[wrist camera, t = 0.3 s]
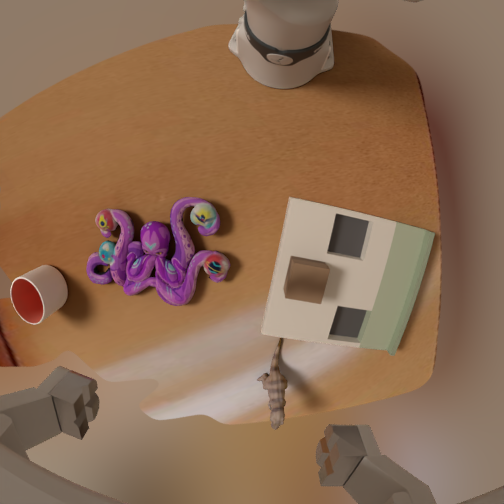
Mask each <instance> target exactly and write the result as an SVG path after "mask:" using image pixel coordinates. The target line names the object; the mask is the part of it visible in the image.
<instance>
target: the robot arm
mask: <svg viewBox="0 0 504 504" xmlns="http://www.w3.org/2000/svg"><path fill="white" fill-rule="evenodd" d="M404 1H409V2H419V1H422V0H404ZM244 2H245V4H244V7H243V11H244V12H245V14H244V15H243V17H240V19H239V22H238V23H239V25H238V27H237V28H236V30H235V32H234V34H233V36H232V38H231V40H230V42H229V50H230V51H231V52H232V53H233V54H234V55H236V56H237V57H238V58H239V59H240V60H241V62H242V64H243V66H244V68H245V70H246V71H247V72H248V74H249V75H250V76H251V77H252V78H254V79H255V80H256V81H258V82H260V83H261V84H264V85H266V86H269V87H273V88H279V89H289V88H295V87H298V86H301V85H303V84H305V83H307V82H309V81H310V80H311V79H312V78H313V77H315V76H316V75H317V74H319V73H321V72H325V71H328V70H330V69H332V68H333V66H334V54H333V42H332V32H331V23H330V22H331V20H332V18H333V16H334V14H335V12H336V10H337V7H338V0H244ZM328 57H329V59H328ZM97 388H98V387H97V382H96V380H94V379H92V378H89V377H87V376H84V375H82V374H79V373H77V372H74V371H72V370H69V369H67V368H64V367H62V366H59V367H57V368H56V369H55V370H54V371H53V372H52V373H51V374H50V375H49V376H48V377H47V378H46V379H45V380H44V381H43V382H42V383H41V384H40V386H39V387H38V388H37V389H36V388H34V387H33V388H29V389H26V390H22V391H18V392H14V393H10V394H6V395H2V396H0V504H129V503H126V502H123V501H120V500H117V499H114V498H111V497H108V496H105V495H103V494H100V493H98V492H95V491H92V490H90V489H87V488H85V487H83V486H81V485H78V484H76V483H74V482H71V481H69V480H67V479H65V478H63V477H61V476H58V475H57V474H55V473H52V472H50V471H49V470H47V469H45V468H43V467H41V466H39V465H37V464H35V463H34V462H32V461H30V460H29V458H28V455H27V454H26V452H25V451H26V450H28V449H30V448H32V447H34V446H36V445H38V444H40V443H42V442H44V441H46V440H48V439H50V438H52V437H54V436H56V435H58V434H60V433H61V432H63V433H66V434H68V435H71V436H73V437H76V438H78V439H81V440H82V439H83V437H84V435H85V434H86V432H87V430H88V429H89V426H88V422H91V421H93V420H94V419H95V417H96V416H97V412H98V409H99V397H98V396H97V394H96V393H95V391H96V390H97ZM324 433H325V437H324V438H322V439H321V440H320V441H319V443H318V446H317V450H316V461H317V464H318V465H319V466H321V469H320V471H319V478H320V484H321V486H343V488H344V489H345V490H346V491H347V492H348V493H349V494H350V495H351V496H352V498H353V499H354V500H355V501H356V502H357V503H358V504H436V502H435V499H434V497H433V495H432V492H431V490H430V488H429V486H428V485H426V484H425V483H423V482H422V481H420V480H418V479H417V478H416V477H414V476H413V475H412V474H410V473H409V472H408V471H406V470H405V469H403V468H402V467H401V466H399V465H398V464H396V463H395V462H394V461H392V460H391V459H390V458H388V457H387V456H385V455H381V453H380V450H379V448H378V445H377V443H376V440H375V438H374V435H373V433H372V430H371V428H370V426H369V425H330V424H329V425H328V426H327V427H326V429H325V431H324ZM458 504H504V486H502V487H499V488H497V489H495V490H492V491H490V492H487V493H485V494H482V495H480V496H477V497H475V498H472V499H469V500H467V501H464V502H461V503H458Z"/></svg>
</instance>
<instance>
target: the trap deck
mask: <svg viewBox="0 0 504 504" xmlns="http://www.w3.org/2000/svg"><path fill="white" fill-rule="evenodd" d="M434 235H435V233H434V232H431V231H428V230H425V229H422V228H419V227H415V226H411V225H408V224H404V223H400V222H396V221H393V220H389V219H385V218H381V217H377V216H373V215H369V214H365V213H361V212H357V211H352V210H348V209H344V208H340V207H335V206H331V205H326V204H322V203H317V202H313V201H308V200H303V199H299V198H294V197H289V201H288V206H287V210H286V215H285V220H284V225H283V230H282V235H281V239H280V244H279V249H278V254H277V258H276V263H275V268H274V272H273V277H272V281H271V286H270V291H269V295H268V300H267V304H266V309H265V313H264V317H263V322H262V326H261V334H263V335H269V336H276V337H282V338H289V339H295V340H302V341H309V342H317V343H324V344H332V345H341V346H349V347H358V348H368V349H379V350H387V351H388V353H389V354H390V355H395V353H396V350H397V348H398V346H399V343H400V341H401V338H402V336H403V333H404V330H405V328H406V325H407V323H408V320H409V317H410V314H411V312H412V309H413V306H414V303H415V300H416V297H417V294H418V291H419V288H420V285H421V282H422V278H423V275H424V272H425V268H426V265H427V262H428V258H429V254H430V251H431V247H432V243H433V239H434ZM291 256H296V257H301V258H307V259H312V260H317V261H322V262H325V263H326V264H327V266H328V267H329V268H330V273H329V276H328V280H327V284H326V288H325V291H324V295H323V299H322V302H321V304H317V303H310V302H304V301H298V300H293V299H287V298H285V295H284V290H283V287H284V283H285V279H286V274H287V270H288V266H289V261H290V257H291Z"/></svg>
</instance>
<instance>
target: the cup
mask: <svg viewBox="0 0 504 504" xmlns="http://www.w3.org/2000/svg"><path fill="white" fill-rule="evenodd" d="M67 295H68V289H67V285H66V281H65V279H64V277H63V276H62V274H61V273H60V272H59V271H58V270H57V269H56V268H54V267H52V266H49V265H43V266H40V267H38V268H36V269H34V270H32V271H30V272H28V273H26V274H24V275H22V276H20V277H18V278H16V279H15V280H14V281H13V283H12V286H11V299H12V303H13V306H14V308H15V310H16V311H17V313H18V314H19V316H20V317H21V318H22V319H23V320H25V321H26V322H28V323H30V324H39V323H41V322H42V321H43V320H44V319H46V318H47V317H48V316H50V315H51V314H52V313H54V312H55V311H57V310H58V309H59V308H61V307H62V306H63V305H64V304H65V302H66V300H67Z"/></svg>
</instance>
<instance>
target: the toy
mask: <svg viewBox="0 0 504 504" xmlns="http://www.w3.org/2000/svg"><path fill="white" fill-rule="evenodd" d="M280 346H281V338H280V341H279V344H278V347H277V349H276V351H275V354H274V356H273V359H272V363H271V368H270V374H269V375H270V376H268V374H266V373H265V374H263V375H262V376H261V377H260V378H258V379H257V380H258V381H262V383H263V389H268V394H269V397H270V401H269V404H268V406H269V408H270V410H271V416H270V420H271V422H272V423H271V426H272V428H273V429H275V430H276V429H278V428H279V426H280V425H282V424H283V421H284V417H285V414H284V406H285V404H286V401H285V399H284V395H285V389H286V388H287V380H286V379H285V377H284V376H283V375H281V373H280V370H279V366H278V358H279V350H280ZM283 404H284V405H283ZM270 405H272V408H271V406H270Z"/></svg>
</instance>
